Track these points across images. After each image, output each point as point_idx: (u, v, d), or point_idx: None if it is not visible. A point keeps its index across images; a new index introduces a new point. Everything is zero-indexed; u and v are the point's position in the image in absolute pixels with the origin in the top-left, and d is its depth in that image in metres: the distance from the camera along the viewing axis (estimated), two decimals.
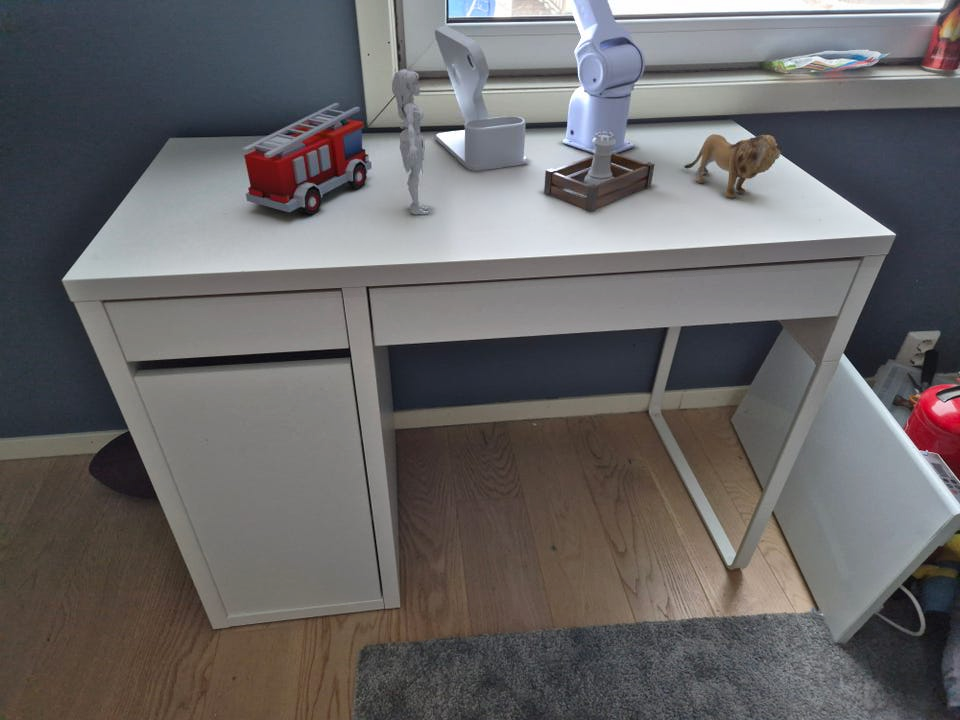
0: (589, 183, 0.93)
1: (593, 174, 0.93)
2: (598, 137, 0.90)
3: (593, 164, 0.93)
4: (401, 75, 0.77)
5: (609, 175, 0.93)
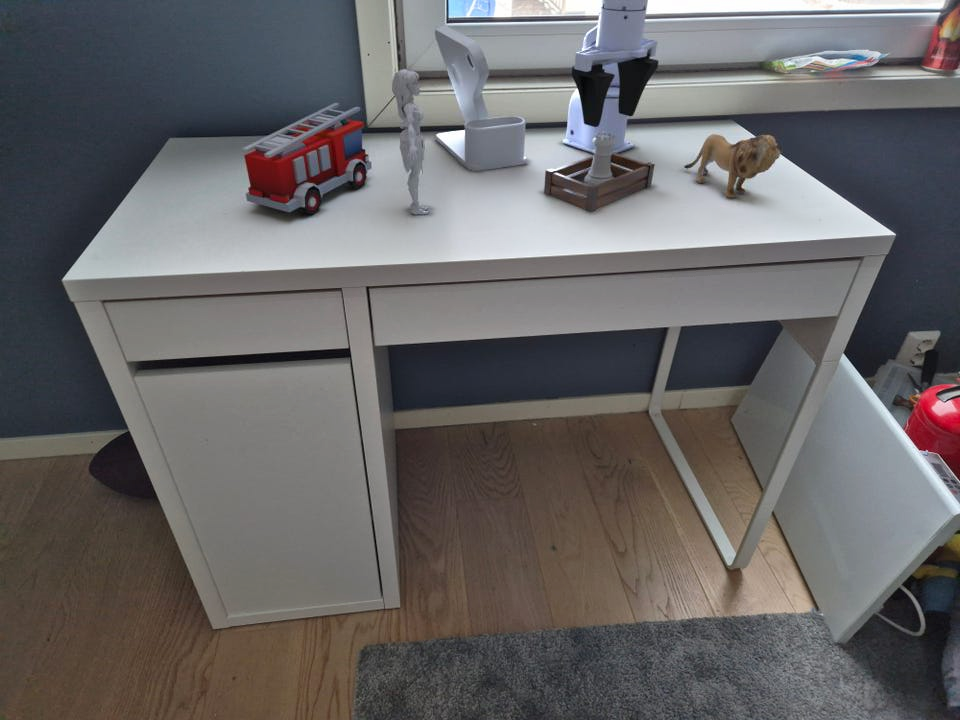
0: (589, 183, 0.93)
1: (593, 174, 0.93)
2: (598, 137, 0.90)
3: (593, 164, 0.93)
4: (401, 75, 0.77)
5: (609, 175, 0.93)
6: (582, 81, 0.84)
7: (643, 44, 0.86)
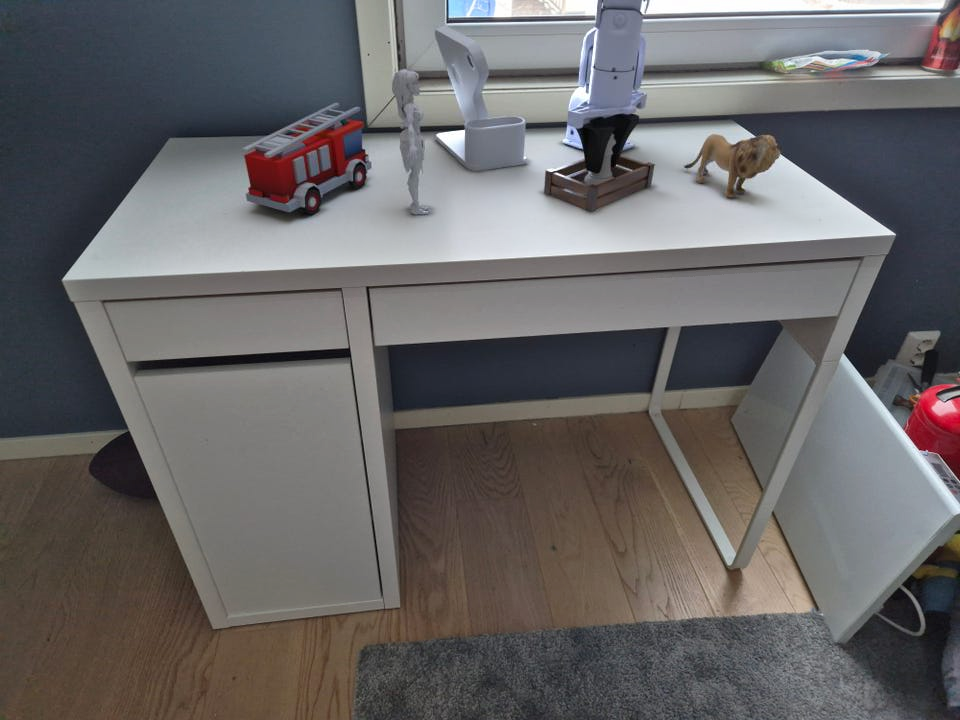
0: (589, 183, 0.93)
1: (594, 174, 0.93)
2: None
3: None
4: (401, 75, 0.77)
5: (609, 175, 0.93)
6: (584, 132, 0.89)
7: (633, 98, 0.90)
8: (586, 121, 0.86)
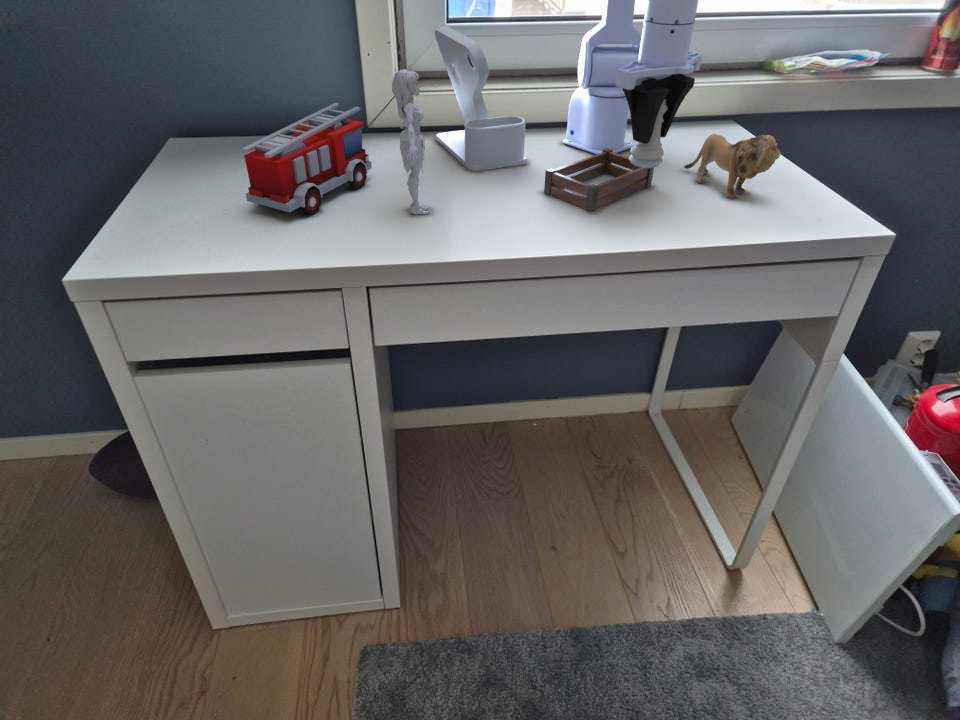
0: (636, 155, 0.84)
1: (641, 145, 0.83)
2: None
3: None
4: (401, 75, 0.77)
5: (659, 146, 0.83)
6: (633, 96, 0.79)
7: (687, 58, 0.80)
8: (637, 82, 0.76)
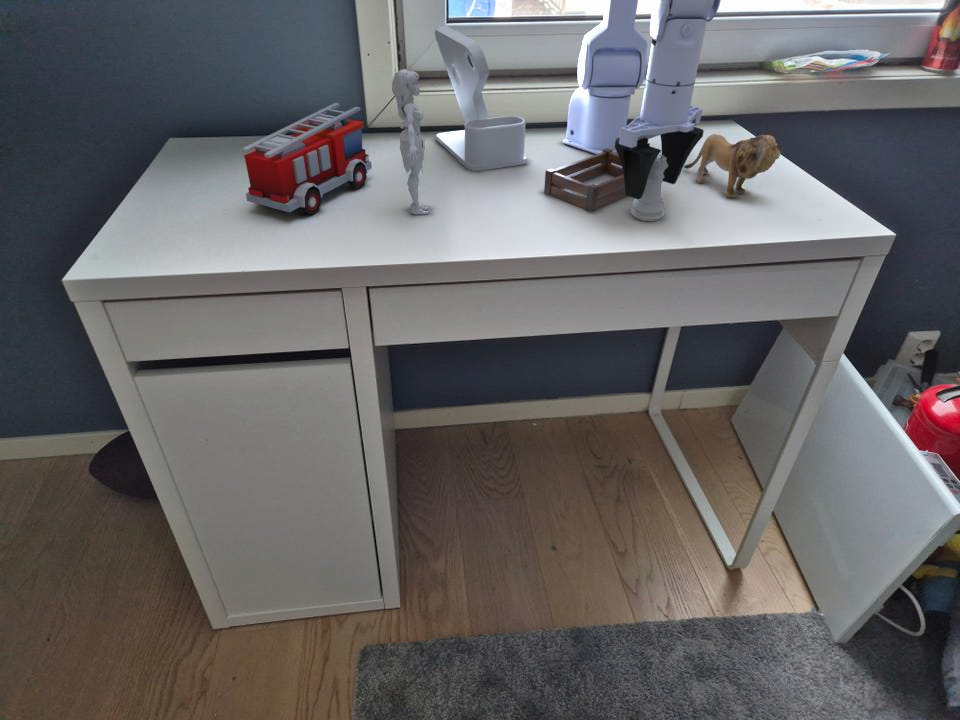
0: (638, 209, 0.86)
1: (643, 199, 0.86)
2: None
3: None
4: (401, 75, 0.77)
5: (660, 200, 0.86)
6: (626, 154, 0.81)
7: (688, 113, 0.83)
8: (640, 139, 0.79)
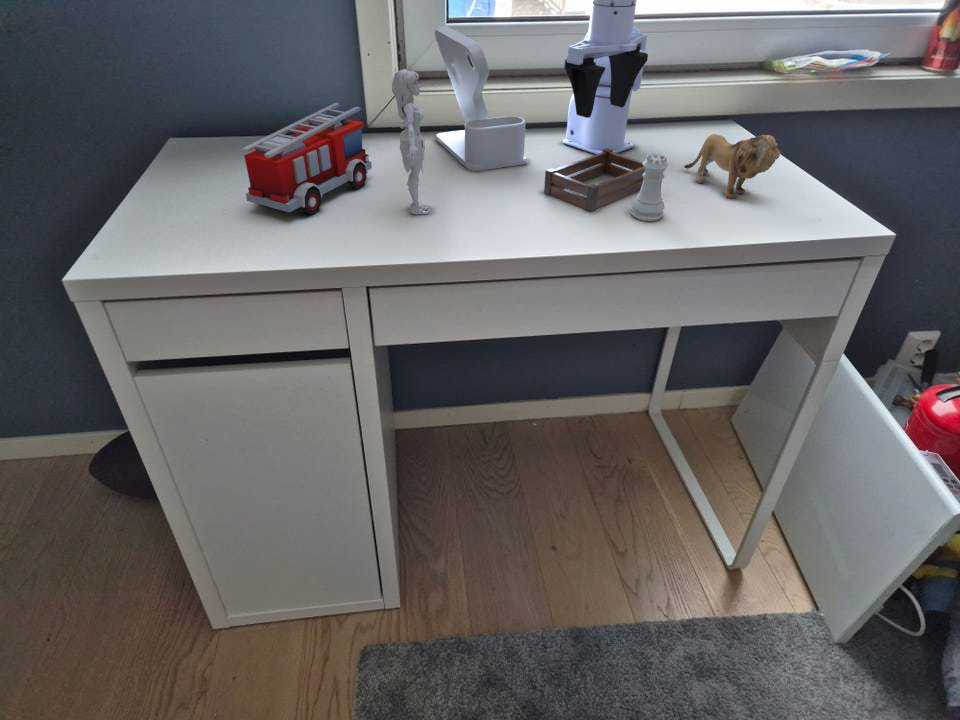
0: (638, 209, 0.86)
1: (643, 199, 0.86)
2: (650, 160, 0.83)
3: (643, 188, 0.86)
4: (401, 75, 0.77)
5: (660, 200, 0.86)
6: (574, 74, 0.88)
7: (633, 38, 0.90)
8: (586, 58, 0.86)
